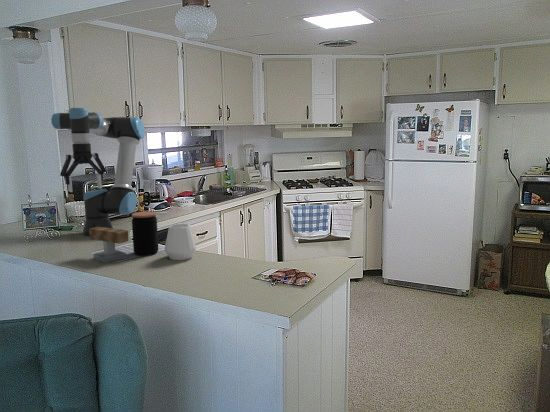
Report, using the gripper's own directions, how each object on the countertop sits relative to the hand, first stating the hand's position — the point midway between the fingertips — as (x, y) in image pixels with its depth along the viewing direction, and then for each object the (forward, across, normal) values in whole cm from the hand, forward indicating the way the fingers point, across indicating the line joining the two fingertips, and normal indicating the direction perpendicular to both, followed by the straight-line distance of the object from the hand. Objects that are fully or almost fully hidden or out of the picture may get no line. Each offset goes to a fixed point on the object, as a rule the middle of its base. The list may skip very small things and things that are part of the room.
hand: (85, 190), depth 208 cm
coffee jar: (+28, -13, +27) cm, 41 cm away
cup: (+28, -20, +44) cm, 55 cm away
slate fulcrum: (+27, +2, +22) cm, 35 cm away
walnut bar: (+19, +2, +22) cm, 29 cm away
